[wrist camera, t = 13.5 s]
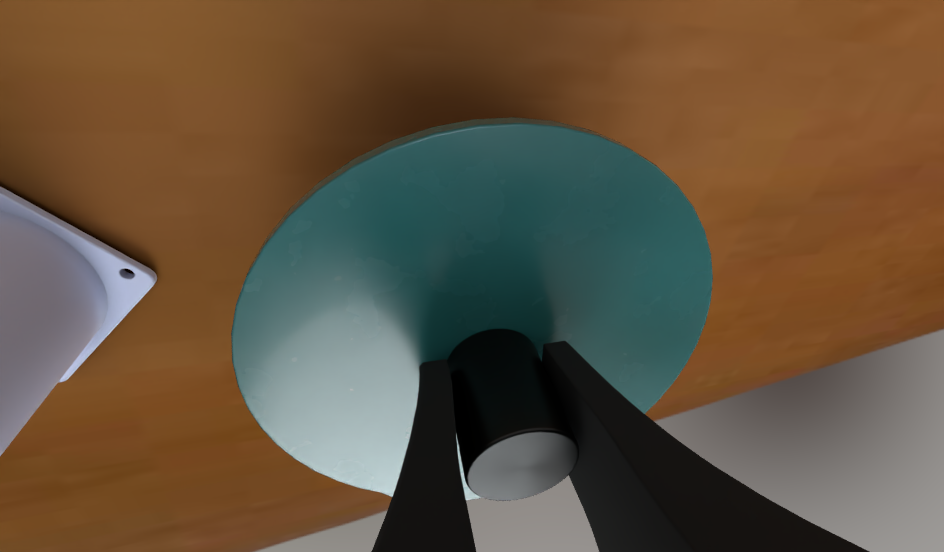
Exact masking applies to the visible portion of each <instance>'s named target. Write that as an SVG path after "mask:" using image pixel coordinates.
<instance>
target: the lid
mask: <svg viewBox="0 0 944 552" xmlns="http://www.w3.org/2000/svg"><path fill="white" fill-rule="evenodd" d="M712 280H713V275H712V262H711V253H710V249H709V245H708V242H707V238H706V234H705V230H704V228H703V226H702V224H701V222H700V220H699V218H698V216H697V213H696V211H695V209H694V207H693V206H692V204H691V203H690V202H689V200H688V199H687V198H686V196H685V195H684V194H683V192H682V191H681V190H680V188H679V187H678V185H677V184H675V183H674V182H673V181H672V180H671V179H670V178H669V177H668V176H667V175H666V174H665V173H664V172H662V171H661V170H660V169H659V168H658V167H657V166H656V165H654V164H653V163H651V162H650V161H648V160H647V159H645V158H644V157H642V156H641V155H639V154H637V153H636V152H634V151H633V150H631V149H629V148H628V147H626V146H625V145H623V144H622V143H620V142H617V141H615V140H613V139H610V138H608V137H606V136H603V135H601V134H598V133H596V132H594V131H591V130H589V129H585V128H581V127H576V126H572V125H568V124H564V123H560V122H556V121H549V120H538V119H527V118H516V117H512V118H492V119H473V120H468V121H463V122H457V123H452V124H447V125H441V126H436V127H431V128H428V129H425V130H422V131H419V132H416V133H413V134H410V135H407V136H404V137H401V138H398V139H395V140H392V141H390V142H388V143H386V144H384V145H381V146H379V147H377V148H375V149H373V150H371V151H369V152H367V153H365V154H363V155H361V156H359V157H357V158H355V159H353V160H351V161H350V162H348V163H347V164H345V165H344V166H342V167H341V168H340V169H338V170H337V171H335V172H334V173H332V174H331V175H329V176H328V177H326V178H325V179H323V180H322V181H320V182H319V183H318V184H317V185H316V186H314V187H313V188H312V189H311V190H310V191H309V192H308V193H307V194H306V195H304V196H303V197H302V198H301V199H300V200H299V201H298V202H297V203H296V204H294V205H293V206H292V207H291V208H290V209H289V211H288V212H287V213H286V214H285V216H284V217H283V218H282V219H281V220H280V222H279V223H278V224H277V225H276V227H275V228H274V229H273V230H272V231H271V233H270V234H269V235H268V237H267V238H266V240H265V242H264V243H263V245H262V247H261V249H260V250H259V252H258V254H257V256H256V257H255V259H254V261H253V263H252V264H251V266H250V269H249V271H248V273H247V276H246V279H245V281H244V284H243V287H242V290H241V293H240V295H239V298H238V301H237V304H236V308H235V314H234V320H233V327H232V333H231V336H232V361H233V366H234V370H235V374H236V379H237V383H238V387H239V389H240V391H241V393H242V396H243V398H244V400H245V403H246V405H247V407H248V409H249V411H250V412H251V413H252V415H253V416H254V418H255V419H256V421H257V422H258V424H259V425H260V427H261V428H262V429H263V430H264V431H265V432H266V434H267V435H268V436H269V437H270V438H271V439H272V440H273V441H274V442H275V443H276V444H277V445H278V446H279V447H280V448H282V449H283V450H284V451H286V452H287V453H288V454H289V455H291V456H292V457H293V458H294V459H296V460H297V461H299V462H301V463H303V464H304V465H306V466H308V467H309V468H311V469H313V470H314V471H316V472H318V473H321V474H323V475H325V476H327V477H330V478H332V479H334V480H337V481H339V482H343V483H346V484H349V485H352V486H355V487H358V488H362V489H367V490H372V491H376V492H381V493H388V494H394V491H395V488H396V485H397V482H398V478H399V475H400V472H401V468H402V465H403V461H404V458H405V454H406V450H407V447H408V443H409V439H410V435H411V430H412V425H413V420H414V416H415V411H416V405H417V398H418V390H419V366H420V365H421V364H422V363H423V362H429V361H436V360H442V359H447V363H448V367H449V371H450V375H451V380H452V388H453V401H454V413H455V425H456V438H457V450H458V459H459V466H460V473H461V478H462V483H463V488H464V493H465V494H471V493H475V494H476V495H478V496H480V497H482V498H486V499H489V500H496V501H510V500H518V499H523V498H527V497H530V496H534V495H537V494H539V493H542V492H544V491H546V490H548V489H550V488H552V487H553V486H555V485H557V484H558V483H559V482H561V481H562V480H563V479H565V478H566V477H567V476H568V475H569V474H570V473H571V471H572V470H573V469H574V467H575V466H576V464H577V462H578V459H579V445H578V442H577V440H576V438H575V436H574V433H573V431H572V429H571V427H570V424H569V422H568V420H567V418H566V415H565V413H564V411H563V409H562V406H561V404H560V402H559V400H558V397H557V395H556V393H555V391H554V388H553V386H552V384H551V382H550V379H549V377H548V375H547V373H546V370H545V368H544V366H543V364H542V354H543V344H546V343H553V342H559V341H566V342H568V343H569V344H570V345H571V346H572V347H573V348H574V349H575V350H576V351H577V352H578V353H579V354H580V355H581V356H582V357H583V358H584V359H585V360H586V361H587V362H588V363H589V364H590V365H591V366H592V367H593V368H594V369H595V370H596V371H597V372H598V373H599V374H600V375H601V376H602V377H603V378H605V379H606V380H607V381H608V382H609V383H610V384H611V385H612V386H613V387H614V388H615V389H616V390H618V391H619V392H620V393H621V394H622V395H623V396H624V397H625V398H627V399H628V400H629V401H630V402H631V403H632V404H633V405H634V406H636V407H637V408H638V409H639V410H640V411H641V412H643V413H644V414H645V413H646V412H647V411H648V410H649V409H650V408H651V407H652V406H653V405H654V404H655V403H656V402H657V401H658V400H659V399H660V398H661V397H662V395H663V394H664V393H665V392H666V391H667V390H668V388H669V387H670V386H671V385H672V384H673V382H674V381H675V379H676V378H677V377H678V375H679V374H680V372H681V371H682V369H683V368H684V366H685V365H686V363H687V362H688V360H689V358H690V356H691V354H692V352H693V350H694V349H695V347H696V345H697V343H698V340H699V338H700V335H701V332H702V330H703V327H704V325H705V322H706V318H707V314H708V310H709V306H710V301H711V291H712Z"/></svg>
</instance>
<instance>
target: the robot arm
mask: <svg viewBox="0 0 944 552" xmlns="http://www.w3.org/2000/svg"><path fill="white" fill-rule="evenodd" d="M125 268H127V269H130V270H131V271H133V272H134V274H130V273H128V272H126V271H125ZM156 280H157V275H156V274H155V272H154V271H152V270H151V269H150V268H148V267H146V266H144V265H142V264H141V263H139V262H137V261H135V260H133V259H132V258H130V257H128V256H126V255H124V254H122V253H121V252H119V251H117V250H115V249H113V248H112V247H110V246H108V245H106V244H104V243H102V242H101V241H99V240H97V239H95V238H93V237H92V236H90V235H88V234H86V233H84V232H82V231H81V230H79V229H77V228H75V227H73V226H72V225H70V224H68V223H66V222H64V221H62V220H61V219H59V218H57V217H55V216H53V215H52V214H50V213H48V212H46V211H44V210H42V209H41V208H39V207H37V206H35V205H33V204H32V203H30V202H28V201H26V200H24V199H22V198H21V197H19V196H17V195H15V194H13V193H12V192H10V191H8V190H6V189H4V188H2V187H1V186H0V456H1V455H2V453H3V452H4V451H5V449H6V448H7V447H8V446H9V444H10V443H11V442H12V440H13V439H14V438H15V437H16V435H17V434H18V433H19V432H20V430H21V429H22V428H23V426H24V425H25V424H26V423H27V421H28V420H29V419H30V417H31V416H32V415H33V414H34V412H35V411H36V410H37V408H38V407H39V406H40V405H41V403H42V402H43V401H44V400H45V398H46V397H47V396H48V394H49V393H50V392H51V391H52V389H53V388H54V387H55V385H56V384H57V383H58V382H63V381H66V380H67V379H68V378H69V377H70V376H71V375H72V374H73V373H74V372H75V371H76V370H77V369H78V368H79V366H80V365H81V364H82V363H83V362H84V361H85V360H86V359H87V358H88V357H89V355H90V354H91V353H92V352H93V351H94V350H95V349H96V348H97V347H98V346H99V345H100V343H101V342H102V341H103V340H104V339H105V338H106V337H107V336H108V335H109V334H110V333H111V331H112V330H113V329H114V328H115V327H116V326H117V325H118V324H119V323H120V322H121V320H122V319H123V318H124V317H125V316H126V315H127V314H128V313H129V312H130V311H131V310H132V308H133V307H134V306H135V305H136V304H137V303H138V302H139V301H140V300H141V299H142V298H143V296H144V295H145V294H146V293H147V292H148V291H149V290H150V289H151V288H152V287H153V285H154V284H155V282H156ZM542 364H543V366H544V368H545V370H546V373H547V375H548V377H549V379H550V382H551V384H552V386H553V388H554V391H555V393H556V395H557V397H558V400H559V402H560V404H561V406H562V409H563V411H564V413H565V415H566V418H567V420H568V422H569V424H570V427H571V429H572V431H573V433H574V436H575V438H576V440H577V442H578V445H579V459H578V462H577V464H576V466H575V467H574V469H573V470H572V471H571V473H570V474H569V476H570V479H571V481H572V483H573V486H574V488H575V490H576V492H577V495H578V497H579V499H580V502H581V504H582V506H583V508H584V511H585V513H586V516H587V518H588V521H589V523H590V526H591V528H592V531H593V534H594V537H595V540H596V543H597V546H598V549H599V552H869V551H867V550H865V549H863V548H861V547H859V546H857V545H855V544H853V543H851V542H849V541H847V540H845V539H843V538H841V537H839V536H837V535H835V534H832V533H831V532H829V531H827V530H825V529H822V528H821V527H819V526H817V525H815V524H813V523H811V522H809V521H807V520H805V519H803V518H801V517H799V516H798V515H796V514H794V513H792V512H790V511H789V510H787V509H785V508H783V507H781V506H779V505H777V504H776V503H774V502H772V501H770V500H769V499H767V498H765V497H764V496H762V495H760V494H758V493H757V492H755V491H754V490H752V489H750V488H749V487H747V486H746V485H744V484H742V483H741V482H739V481H737V480H736V479H734V478H733V477H731V476H729V475H728V474H726V473H725V472H723V471H721V470H720V469H718V468H717V467H715V466H713V465H712V464H710V463H709V462H708V461H706V460H705V459H703V458H701V457H700V456H699V455H697V454H696V453H695V452H693V451H692V450H690V449H689V448H688V447H686V446H685V445H683V444H682V443H681V442H679V441H678V440H677V439H675V438H674V437H673V436H671V435H670V434H669V433H667V432H666V431H665V430H664V429H662V428H661V427H660V426H659V425H657V424H656V423H655V422H654V421H652V420H651V419H650V418H649V417H648V416H646V415H645V414H644V413H643V412H641V411H640V410H639V409H638V408H637V407H636V406H634V405H633V404H632V403H631V402H630V401H629V400H628V399H627V398H625V397H624V396H623V395H622V394H621V393H620V392H619V391H618V390H616V389H615V388H614V387H613V386H612V385H611V384H610V383H609V382H608V381H607V380H606V379H605V378H603V377H602V376H601V375H600V374H599V373H598V372H597V371H596V370H595V369H594V368H593V367H592V366H591V365H590V364H589V363H588V362H587V361H586V360H585V359H584V358H583V357H582V356H581V355H580V354H579V353H578V352H577V351H576V350H575V349H574V348H573V347H572V346H571V345H570V344H569V343H568V342H566V341H559V342H553V343H546V344H543V354H542ZM372 552H476V548H475V543H474V539H473V533H472V529H471V523H470V519H469V514H468V509H467V504H466V498H465V493H464V488H463V483H462V478H461V473H460V466H459V459H458V450H457V438H456V425H455V413H454V401H453V388H452V380H451V375H450V371H449V367H448V363H447V359H442V360H436V361H429V362H423V363H422V364H421V365H420V366H419V390H418V398H417V405H416V411H415V416H414V420H413V425H412V430H411V435H410V439H409V443H408V447H407V450H406V454H405V458H404V461H403V465H402V468H401V472H400V475H399V478H398V482H397V485H396V488H395V491H394V494H393V497H392V500H391V502H390V505H389V508H388V511H387V514H386V516H385V519H384V522H383V524H382V527H381V529H380V532H379V535H378V537H377V539H376V542H375V545H374V547H373V550H372Z"/></svg>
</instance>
